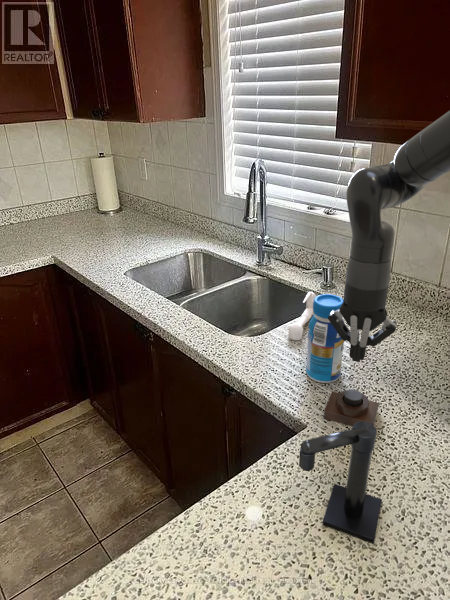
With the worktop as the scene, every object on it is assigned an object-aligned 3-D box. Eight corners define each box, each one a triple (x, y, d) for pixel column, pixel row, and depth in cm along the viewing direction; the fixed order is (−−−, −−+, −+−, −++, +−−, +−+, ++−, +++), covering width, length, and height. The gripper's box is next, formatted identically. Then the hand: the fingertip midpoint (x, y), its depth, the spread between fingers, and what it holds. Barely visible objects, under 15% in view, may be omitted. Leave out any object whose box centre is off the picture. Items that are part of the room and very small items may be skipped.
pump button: (362, 398, 94) (363, 391, 93) (359, 408, 91) (360, 402, 90) (345, 394, 95) (346, 387, 94) (342, 404, 92) (342, 397, 92)
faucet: (287, 349, 126) (284, 326, 119) (307, 306, 137) (305, 282, 130) (301, 352, 124) (299, 329, 118) (320, 309, 135) (318, 285, 128)
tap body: (381, 503, 75) (393, 436, 68) (373, 544, 69) (386, 474, 62) (333, 487, 78) (341, 421, 72) (322, 525, 72) (329, 456, 65)
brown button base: (377, 410, 96) (380, 396, 94) (372, 432, 90) (374, 416, 88) (331, 399, 99) (332, 384, 98) (323, 418, 94) (324, 403, 92)
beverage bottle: (299, 367, 111) (303, 294, 102) (331, 361, 112) (337, 289, 103) (314, 387, 103) (319, 311, 94) (347, 380, 105) (355, 305, 96)
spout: (365, 440, 69) (368, 418, 67) (377, 456, 66) (381, 433, 64) (294, 458, 66) (296, 435, 64) (304, 475, 63) (306, 452, 61)
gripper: (325, 282, 80) (318, 362, 88) (404, 294, 75) (389, 378, 83) (335, 266, 86) (327, 343, 94) (408, 277, 81) (394, 357, 89)
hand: (356, 359), depth 88 cm, fingers closed
